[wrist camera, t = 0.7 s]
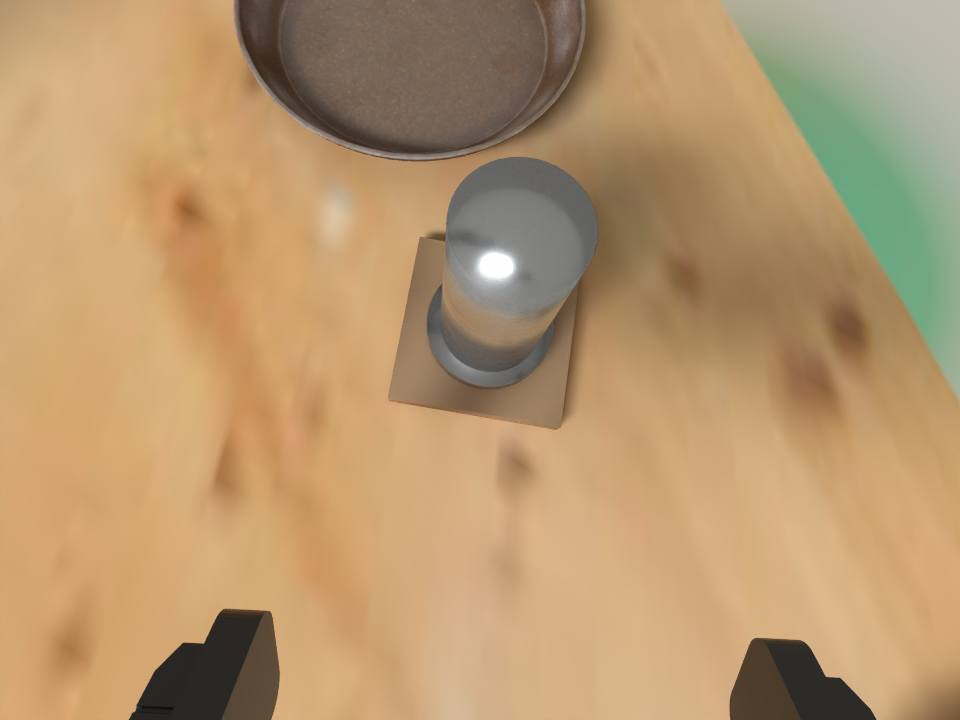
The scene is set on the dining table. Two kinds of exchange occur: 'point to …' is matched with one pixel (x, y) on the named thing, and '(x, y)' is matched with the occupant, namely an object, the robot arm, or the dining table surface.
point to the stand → (434, 388)
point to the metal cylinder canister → (508, 269)
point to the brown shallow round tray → (412, 68)
